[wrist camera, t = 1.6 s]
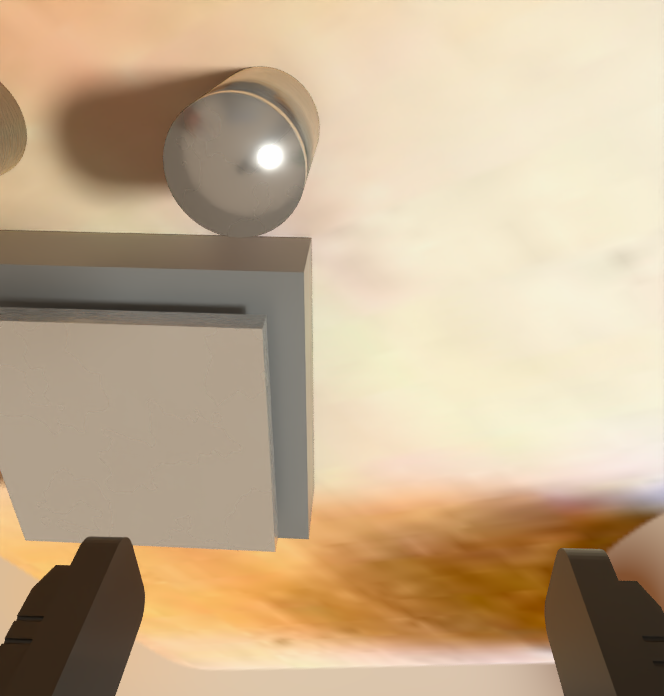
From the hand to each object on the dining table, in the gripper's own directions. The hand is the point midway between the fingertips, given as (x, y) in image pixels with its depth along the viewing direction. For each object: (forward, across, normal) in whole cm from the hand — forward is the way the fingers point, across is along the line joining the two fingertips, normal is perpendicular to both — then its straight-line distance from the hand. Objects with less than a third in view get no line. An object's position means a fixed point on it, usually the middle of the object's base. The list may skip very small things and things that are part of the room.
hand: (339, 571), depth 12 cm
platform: (+15, +10, +9) cm, 20 cm away
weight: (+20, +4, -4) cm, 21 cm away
